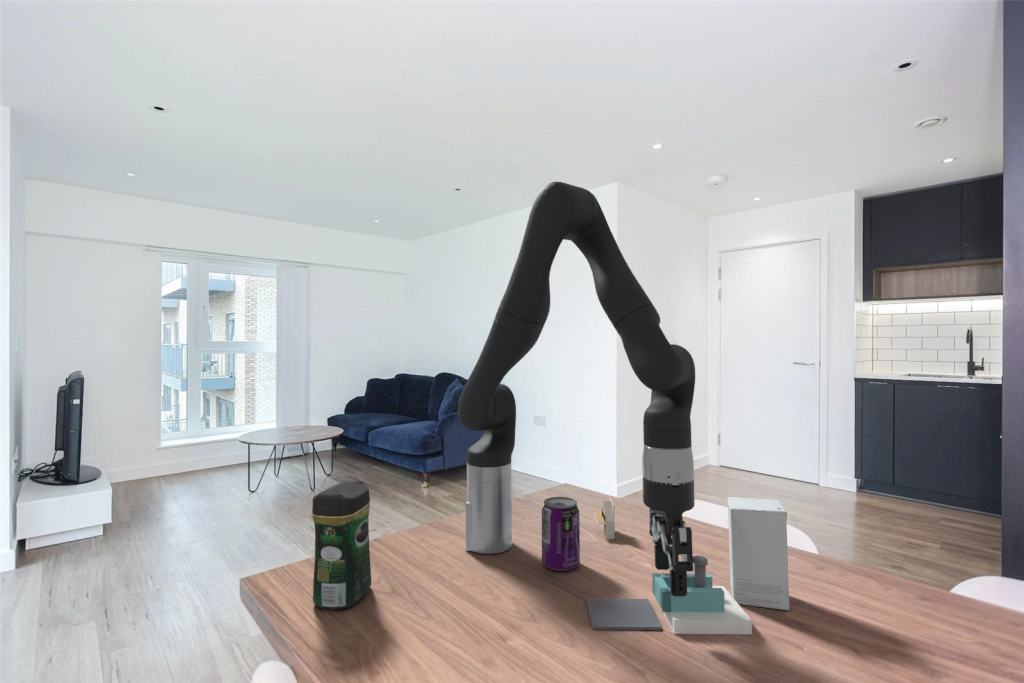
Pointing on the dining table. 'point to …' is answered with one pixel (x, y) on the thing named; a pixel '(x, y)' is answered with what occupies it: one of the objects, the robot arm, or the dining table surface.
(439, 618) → the dining table surface
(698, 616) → the stand
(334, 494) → the coffee jar
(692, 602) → the c link
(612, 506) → the architectural model
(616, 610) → the felt pad
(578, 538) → the beverage can
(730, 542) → the skincare box
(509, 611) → the dining table surface
